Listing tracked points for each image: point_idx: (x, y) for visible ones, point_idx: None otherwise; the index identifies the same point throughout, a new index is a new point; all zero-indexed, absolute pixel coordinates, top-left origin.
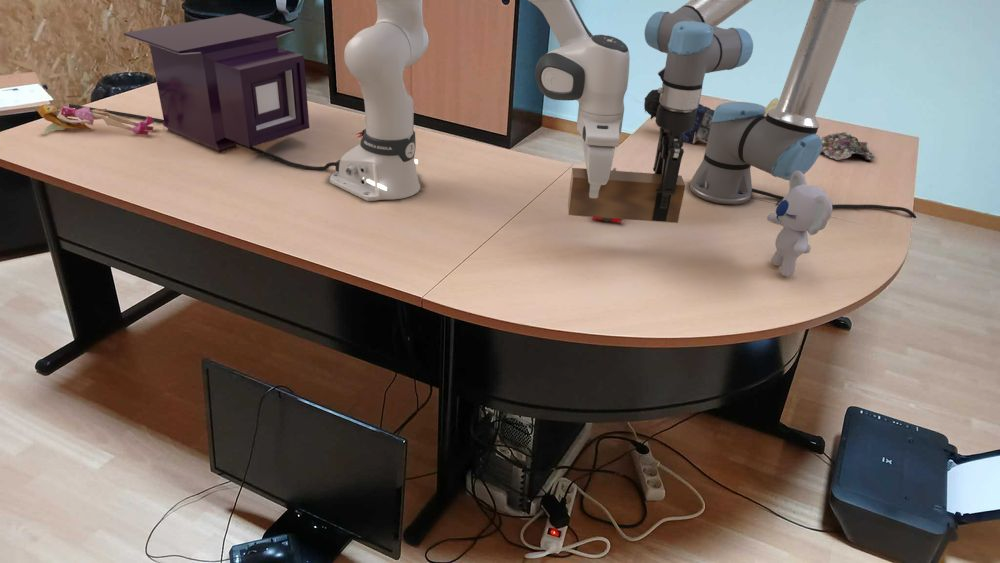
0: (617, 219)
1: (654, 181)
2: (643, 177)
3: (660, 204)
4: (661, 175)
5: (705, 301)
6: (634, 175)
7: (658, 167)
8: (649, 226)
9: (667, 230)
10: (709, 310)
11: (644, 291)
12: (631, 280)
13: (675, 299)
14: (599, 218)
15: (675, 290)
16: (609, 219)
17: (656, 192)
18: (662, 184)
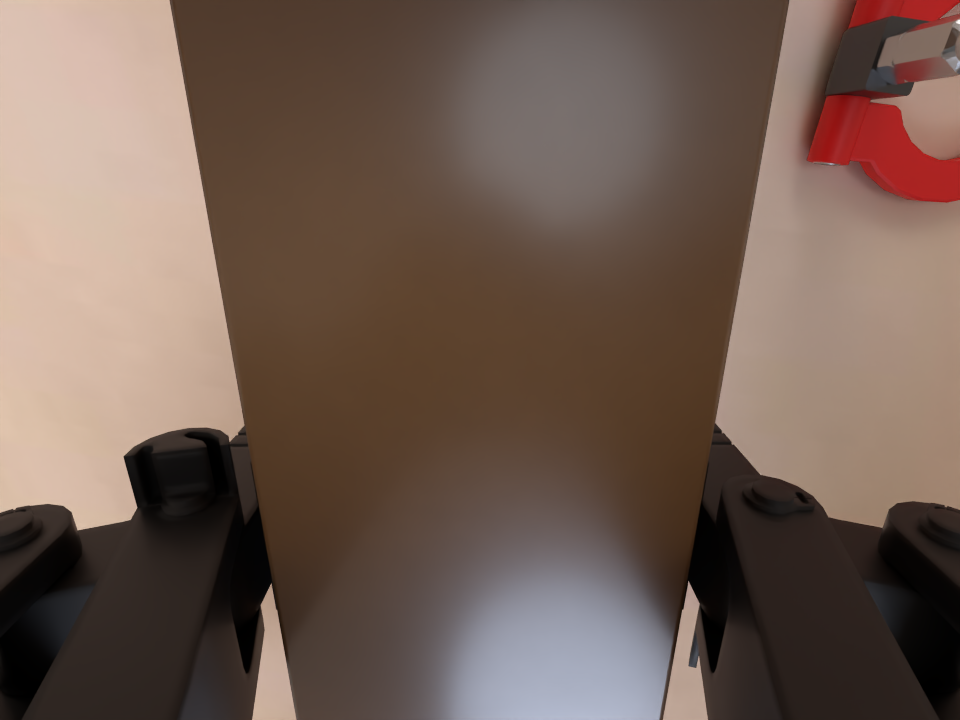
0: (822, 136)
1: (324, 473)
2: (474, 290)
3: (242, 429)
4: (172, 691)
5: (107, 463)
6: (557, 81)
7: (755, 662)
8: (768, 326)
9: (722, 407)
10: (43, 466)
11: (84, 214)
12: (168, 157)
13: (71, 349)
14: (856, 7)
15: (150, 360)
16: (833, 81)
17: (159, 438)
18: (100, 594)
